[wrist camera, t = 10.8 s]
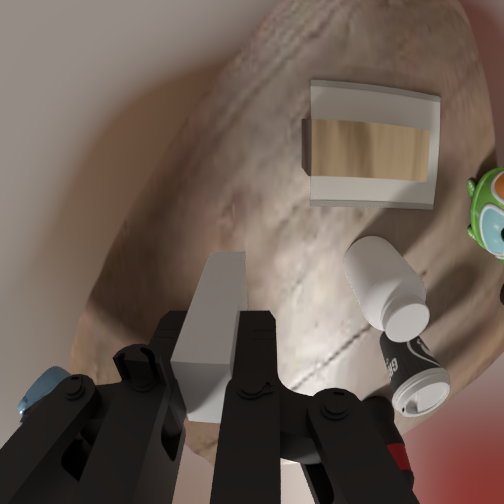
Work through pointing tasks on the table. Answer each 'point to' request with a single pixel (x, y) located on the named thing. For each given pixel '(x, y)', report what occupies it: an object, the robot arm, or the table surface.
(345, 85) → the shallow grey tray
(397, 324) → the pill bottle
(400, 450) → the cola bottle
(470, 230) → the turtle holder
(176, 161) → the table surface
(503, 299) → the vinegar
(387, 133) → the oak block
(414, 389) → the coffee cup
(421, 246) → the table surface
